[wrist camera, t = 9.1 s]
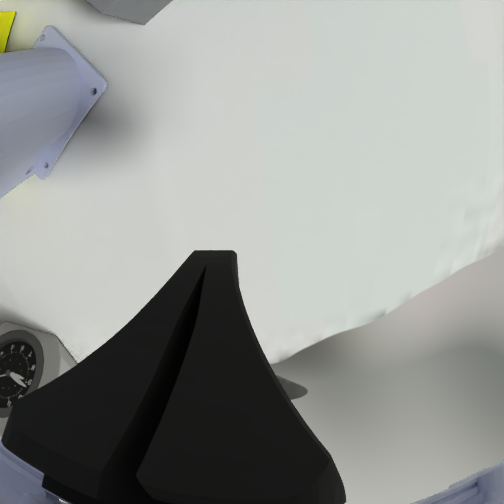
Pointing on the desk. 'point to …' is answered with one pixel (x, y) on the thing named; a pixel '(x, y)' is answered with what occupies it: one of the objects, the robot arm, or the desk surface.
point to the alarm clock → (27, 364)
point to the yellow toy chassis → (5, 28)
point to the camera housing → (130, 8)
